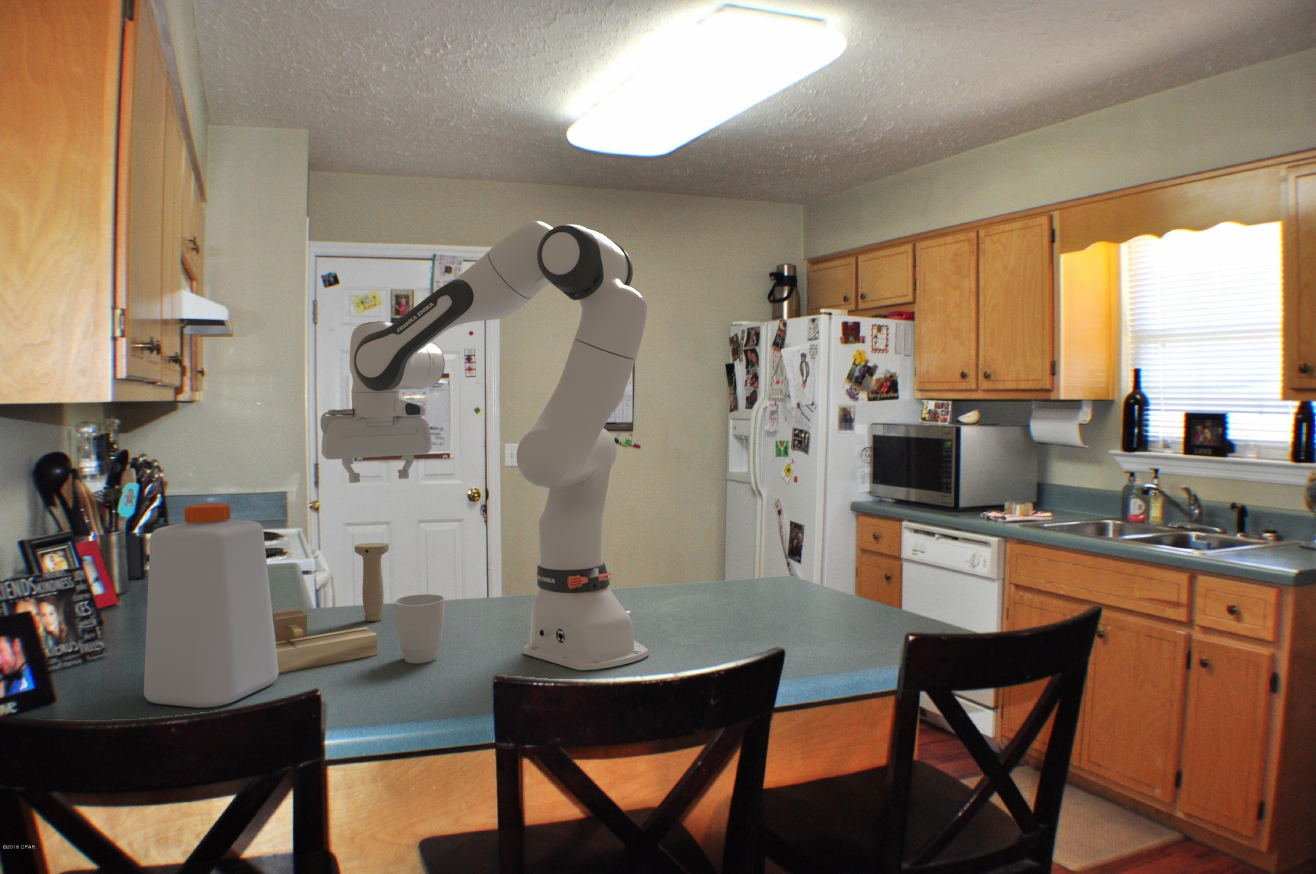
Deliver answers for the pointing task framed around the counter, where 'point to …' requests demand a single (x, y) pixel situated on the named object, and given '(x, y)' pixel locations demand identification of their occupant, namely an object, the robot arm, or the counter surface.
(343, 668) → the counter surface
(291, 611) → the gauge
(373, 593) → the handle
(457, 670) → the counter surface
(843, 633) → the counter surface
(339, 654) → the board
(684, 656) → the counter surface
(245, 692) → the plastic bottle
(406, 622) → the cup
